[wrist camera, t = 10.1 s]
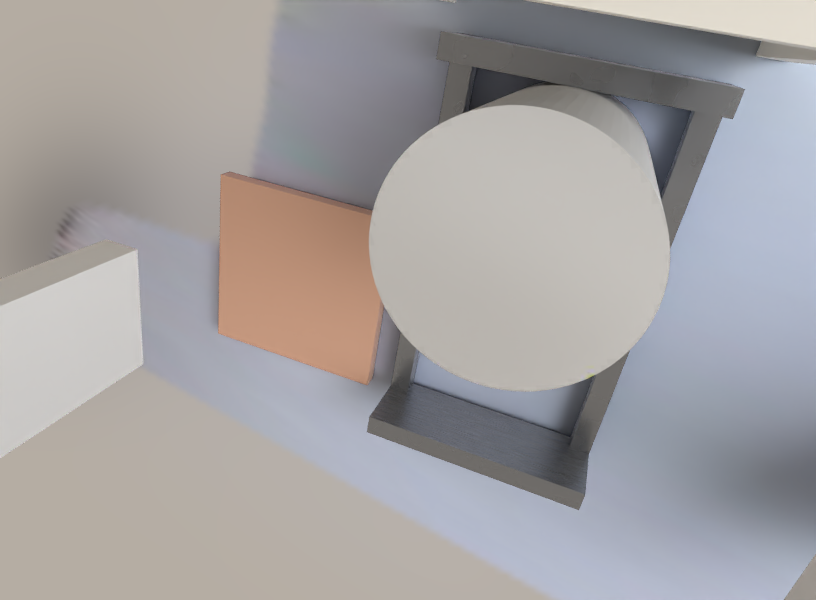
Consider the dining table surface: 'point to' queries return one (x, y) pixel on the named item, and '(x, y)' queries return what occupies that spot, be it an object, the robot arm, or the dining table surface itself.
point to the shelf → (724, 20)
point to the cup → (524, 239)
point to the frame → (568, 456)
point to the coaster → (298, 276)
